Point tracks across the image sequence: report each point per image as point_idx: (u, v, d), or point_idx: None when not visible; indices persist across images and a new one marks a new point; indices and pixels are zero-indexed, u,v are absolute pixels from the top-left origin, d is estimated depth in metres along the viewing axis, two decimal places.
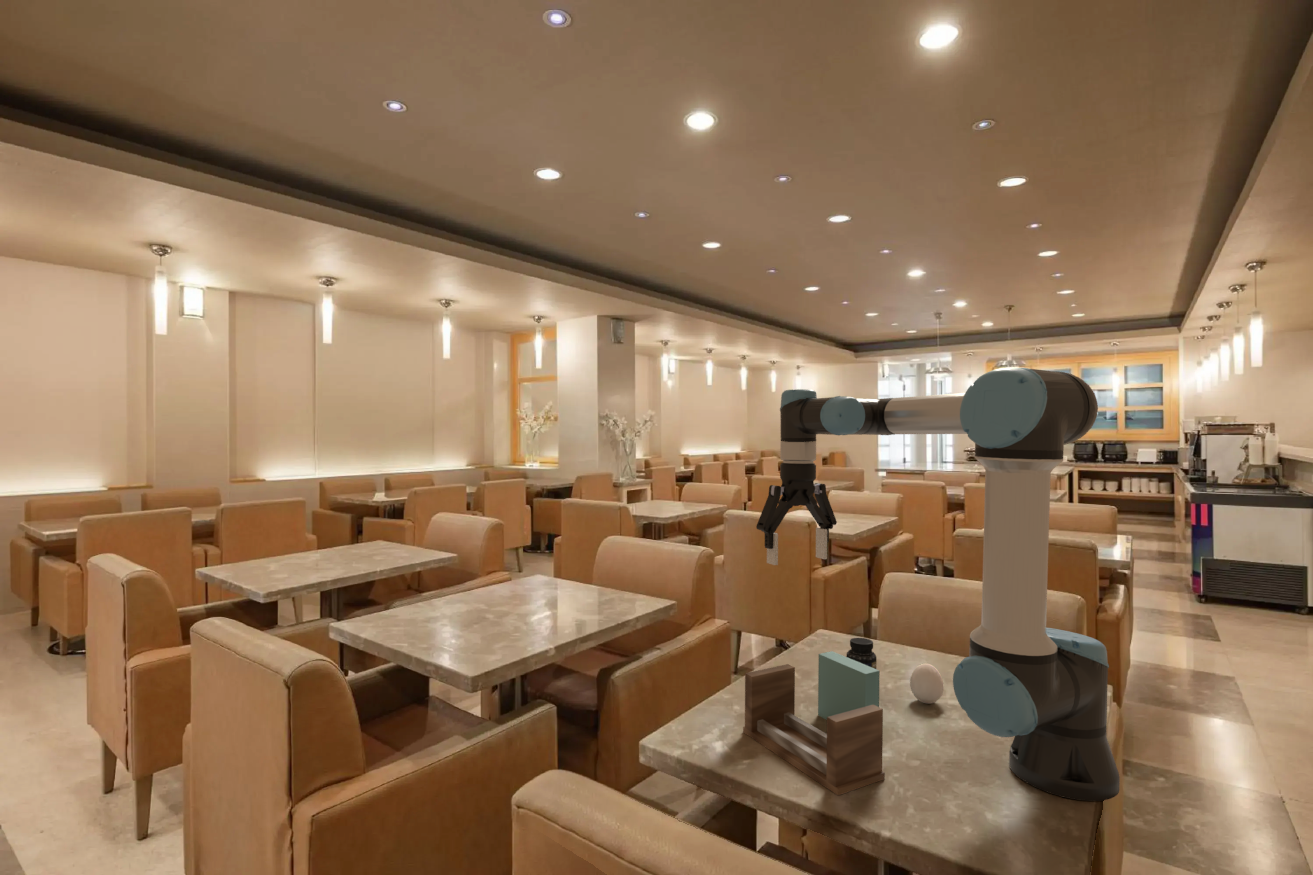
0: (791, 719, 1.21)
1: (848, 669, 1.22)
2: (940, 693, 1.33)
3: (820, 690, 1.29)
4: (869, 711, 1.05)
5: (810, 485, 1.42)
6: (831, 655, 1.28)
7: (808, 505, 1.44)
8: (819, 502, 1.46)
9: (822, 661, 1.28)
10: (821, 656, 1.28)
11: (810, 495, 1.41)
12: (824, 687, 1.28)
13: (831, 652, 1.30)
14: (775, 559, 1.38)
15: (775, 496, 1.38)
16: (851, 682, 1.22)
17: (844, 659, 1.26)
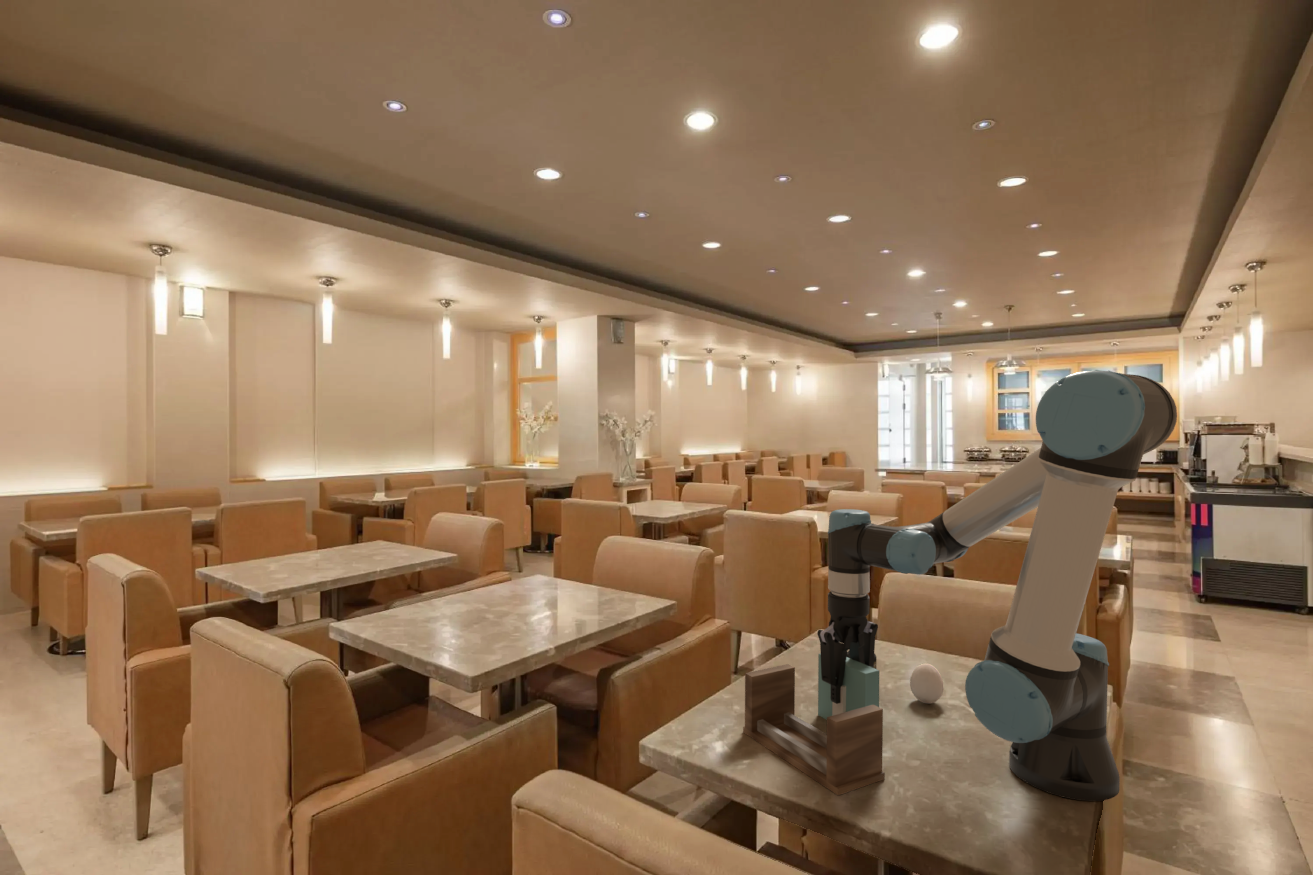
0: (791, 719, 1.21)
1: (848, 669, 1.22)
2: (940, 693, 1.33)
3: (820, 690, 1.29)
4: (869, 711, 1.05)
5: (864, 617, 1.25)
6: None
7: (852, 644, 1.25)
8: None
9: None
10: None
11: (861, 632, 1.24)
12: (824, 686, 1.28)
13: None
14: None
15: (829, 645, 1.21)
16: (851, 682, 1.22)
17: None
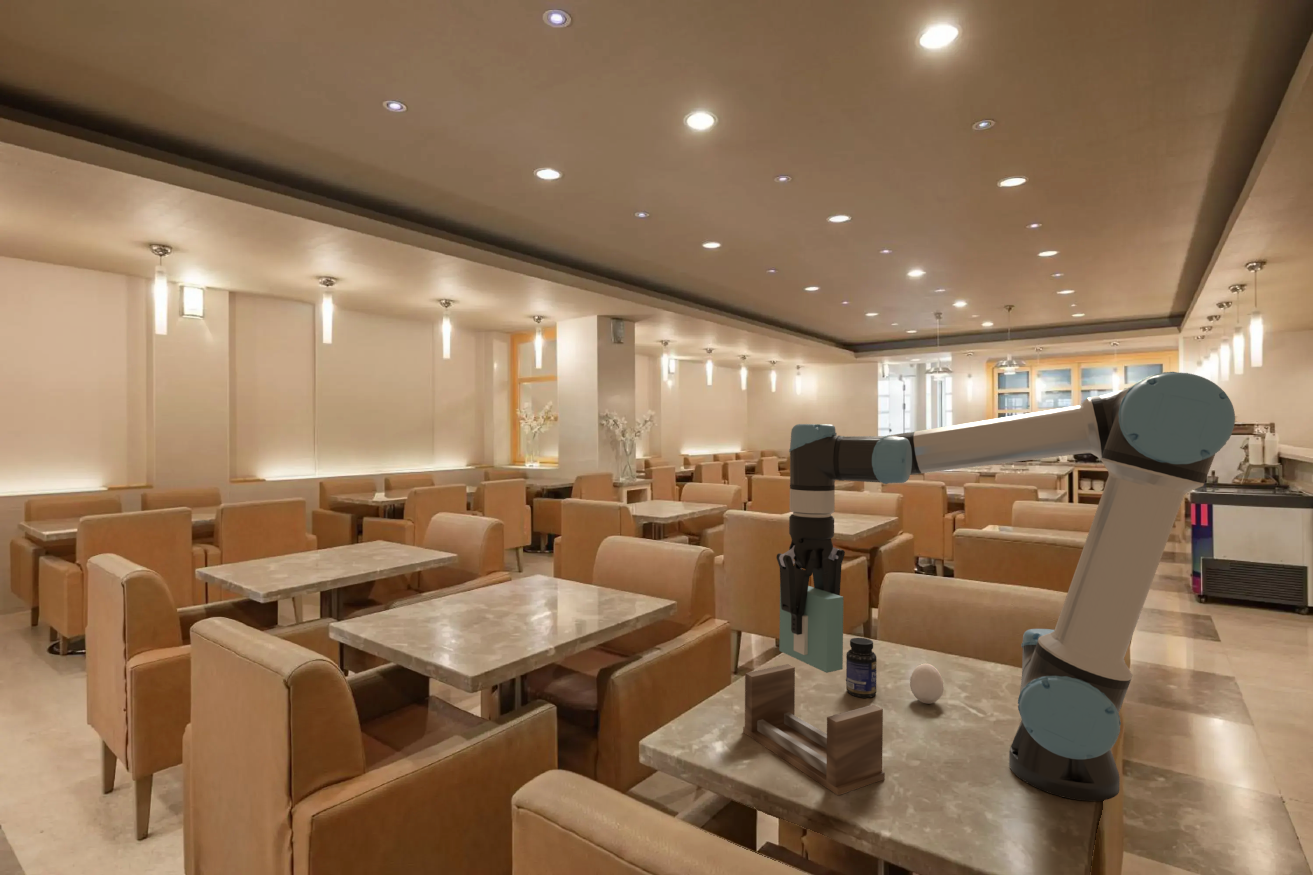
0: (791, 719, 1.21)
1: (809, 596, 1.11)
2: (940, 693, 1.33)
3: (781, 623, 1.18)
4: (869, 711, 1.05)
5: (829, 542, 1.14)
6: None
7: (816, 571, 1.14)
8: (828, 571, 1.16)
9: None
10: None
11: (825, 557, 1.13)
12: (785, 619, 1.17)
13: None
14: (804, 647, 1.12)
15: (788, 569, 1.10)
16: (812, 610, 1.11)
17: None
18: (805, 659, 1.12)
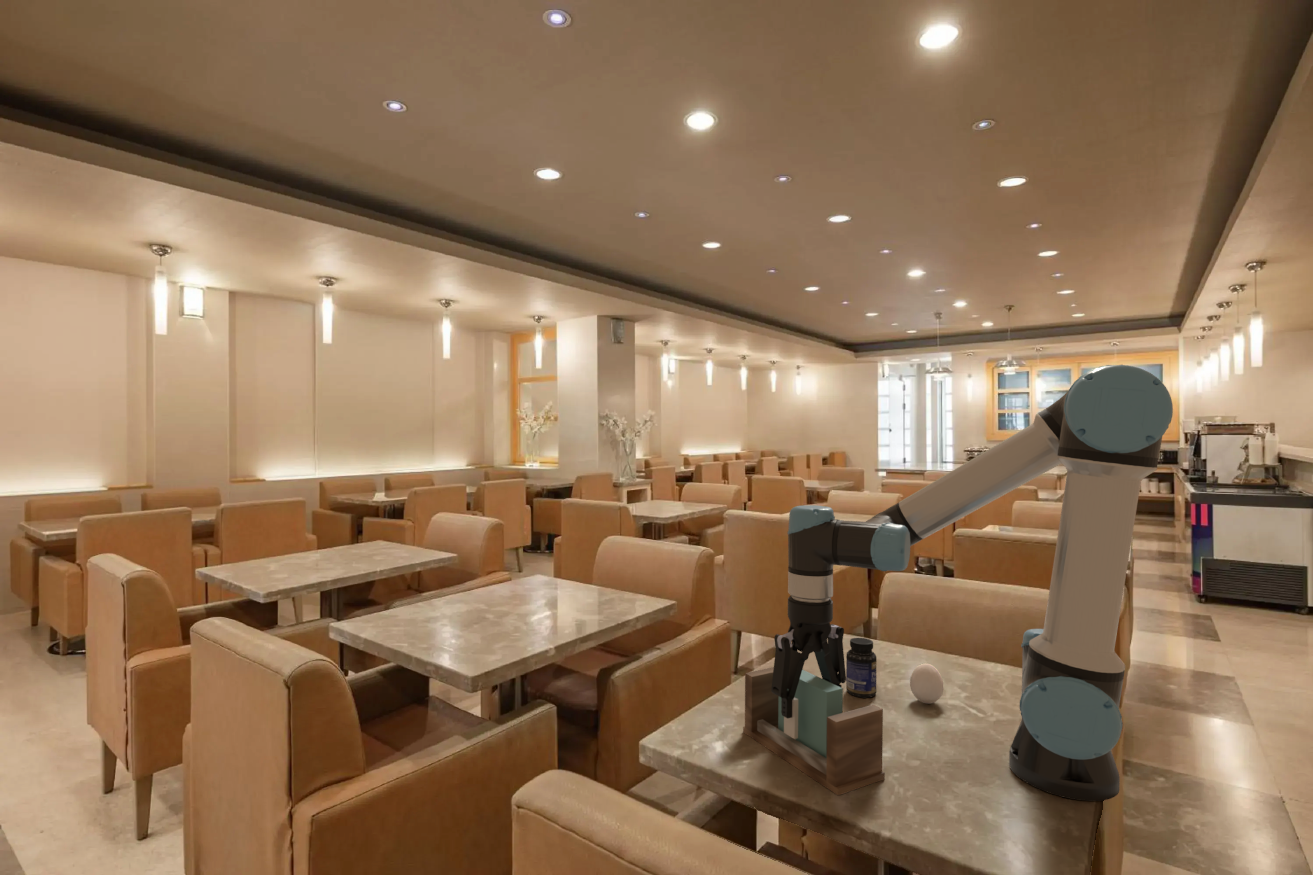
0: None
1: (808, 686, 1.11)
2: (940, 693, 1.33)
3: (780, 708, 1.17)
4: (869, 711, 1.05)
5: (826, 624, 1.14)
6: None
7: (818, 652, 1.14)
8: (831, 649, 1.17)
9: None
10: None
11: (824, 640, 1.13)
12: None
13: None
14: (794, 731, 1.10)
15: (784, 652, 1.09)
16: (811, 701, 1.10)
17: (806, 675, 1.15)
18: None
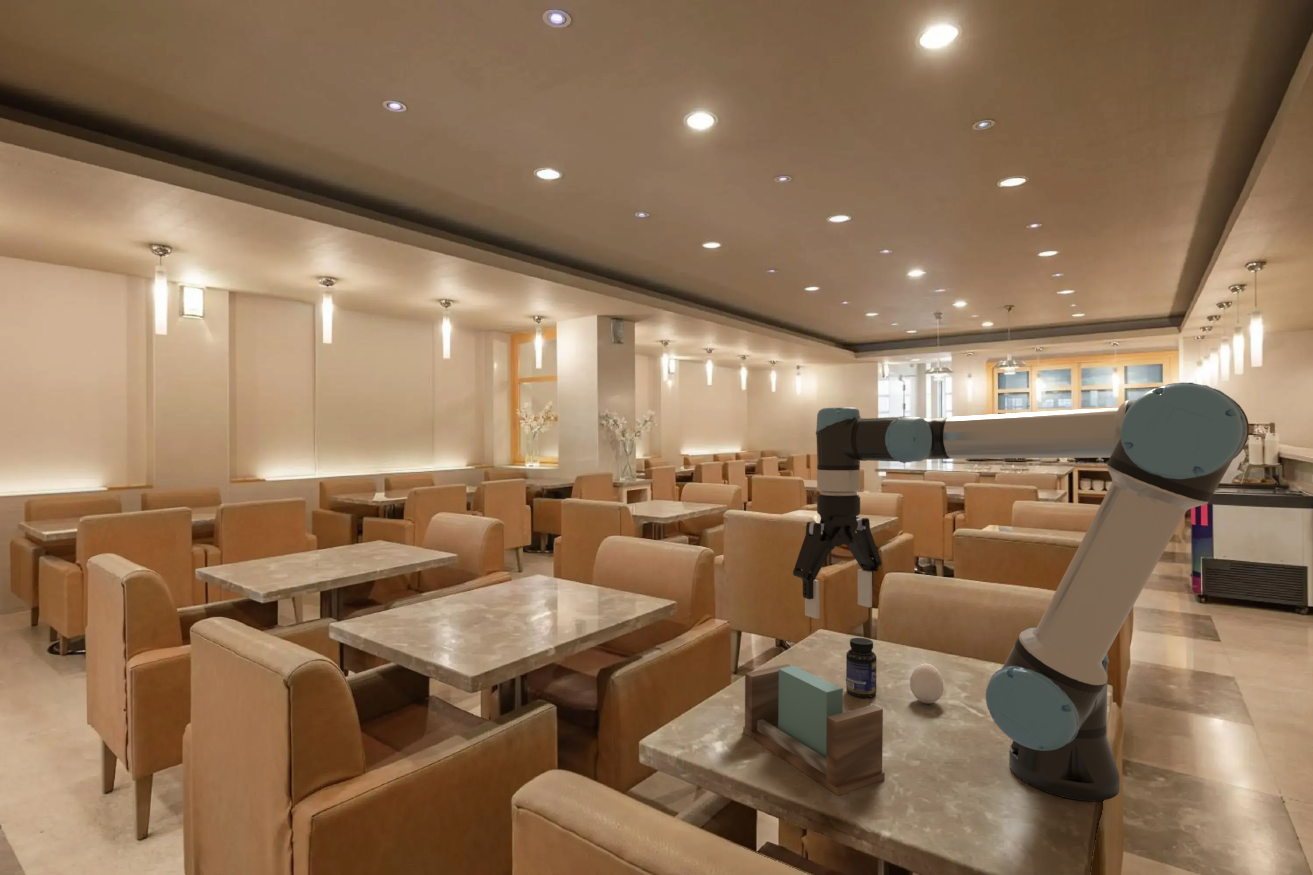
0: None
1: (808, 686, 1.11)
2: (940, 693, 1.33)
3: (780, 708, 1.17)
4: (869, 711, 1.05)
5: (853, 520, 1.20)
6: (792, 670, 1.17)
7: (850, 544, 1.21)
8: (861, 539, 1.24)
9: (782, 676, 1.17)
10: (781, 671, 1.17)
11: (853, 533, 1.19)
12: (784, 705, 1.17)
13: (793, 667, 1.19)
14: (816, 611, 1.15)
15: (815, 536, 1.15)
16: (811, 701, 1.10)
17: (806, 675, 1.15)
18: None
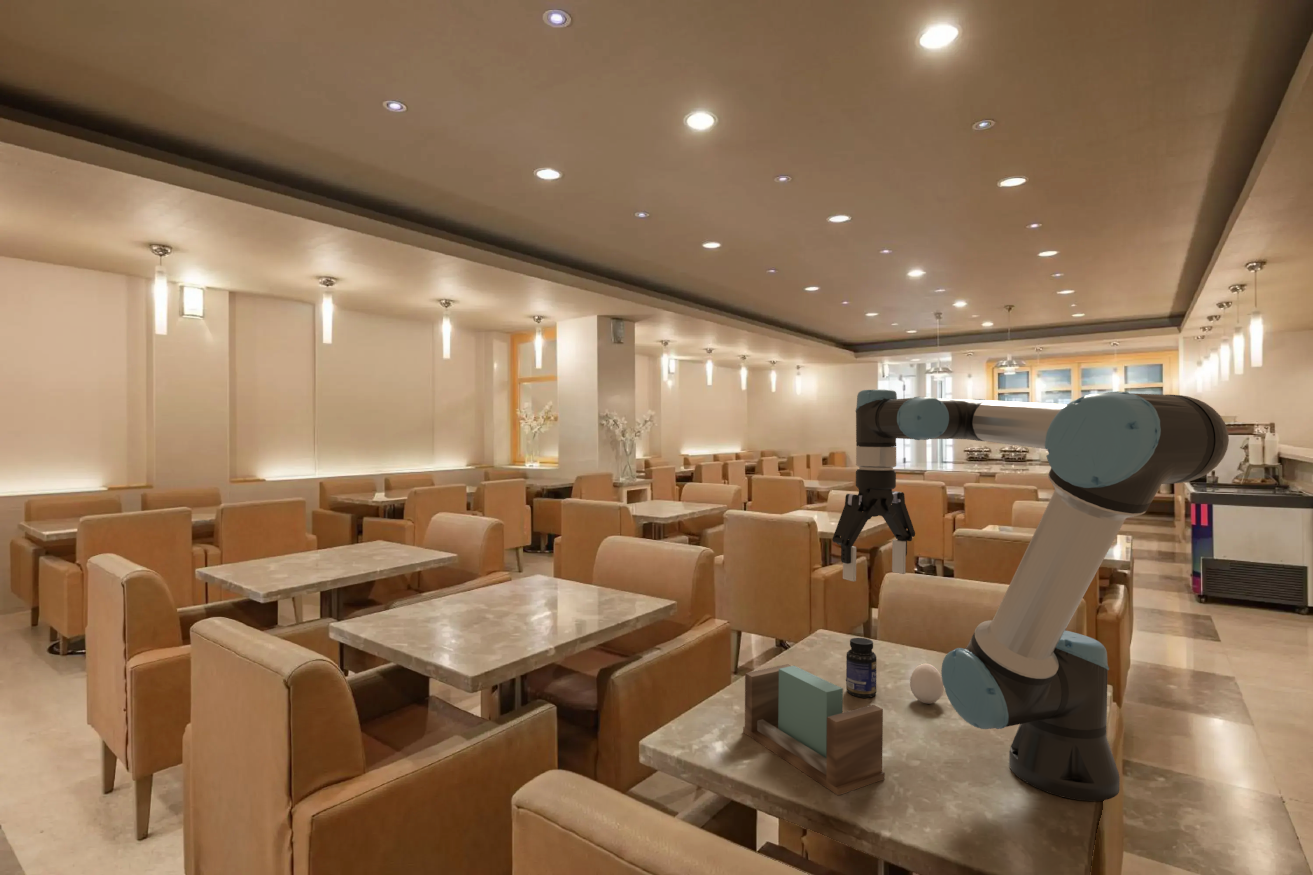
0: None
1: (808, 686, 1.11)
2: (940, 693, 1.33)
3: (780, 708, 1.17)
4: (869, 711, 1.05)
5: (889, 494, 1.31)
6: (792, 670, 1.17)
7: (886, 515, 1.32)
8: (896, 512, 1.34)
9: (782, 676, 1.17)
10: (781, 671, 1.17)
11: (889, 505, 1.30)
12: (784, 705, 1.17)
13: (793, 667, 1.19)
14: (853, 575, 1.26)
15: (853, 506, 1.26)
16: (811, 701, 1.10)
17: (806, 675, 1.15)
18: None
